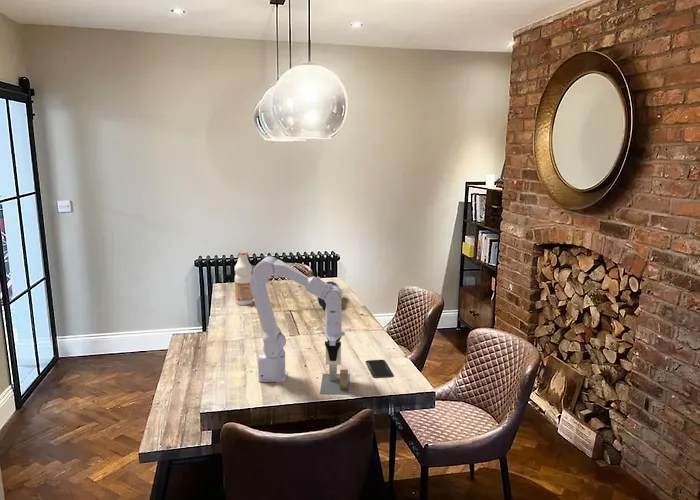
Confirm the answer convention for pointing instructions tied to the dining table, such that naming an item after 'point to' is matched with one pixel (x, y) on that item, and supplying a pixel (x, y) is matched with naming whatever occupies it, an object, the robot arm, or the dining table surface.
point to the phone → (379, 368)
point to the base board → (333, 386)
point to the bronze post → (343, 379)
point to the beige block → (338, 360)
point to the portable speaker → (321, 301)
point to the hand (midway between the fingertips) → (333, 357)
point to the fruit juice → (243, 280)
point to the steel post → (332, 372)
